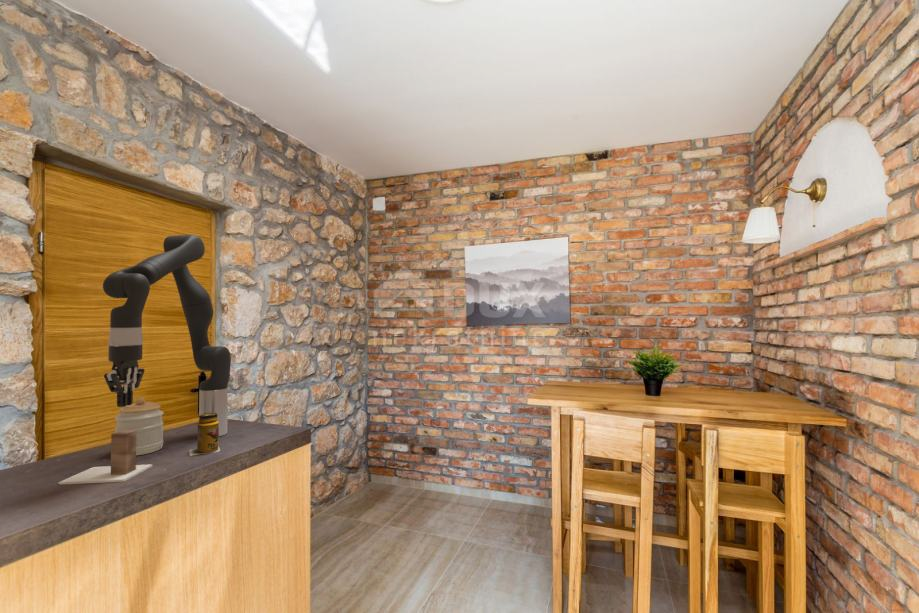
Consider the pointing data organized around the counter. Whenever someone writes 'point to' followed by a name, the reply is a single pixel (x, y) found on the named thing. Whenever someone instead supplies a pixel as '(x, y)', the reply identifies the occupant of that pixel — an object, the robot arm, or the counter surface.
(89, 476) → the mat
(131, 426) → the jar
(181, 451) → the counter surface
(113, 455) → the block
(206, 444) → the condiment
